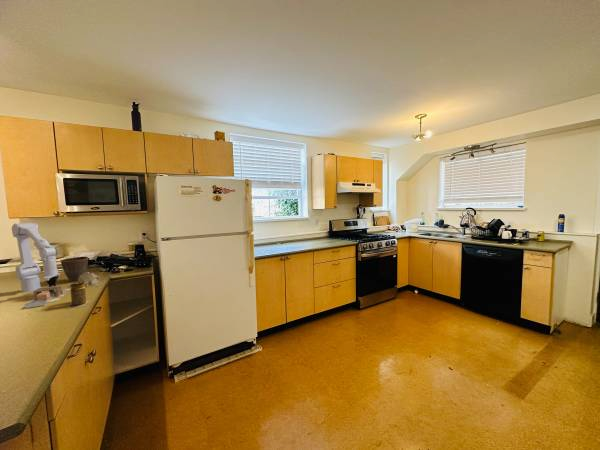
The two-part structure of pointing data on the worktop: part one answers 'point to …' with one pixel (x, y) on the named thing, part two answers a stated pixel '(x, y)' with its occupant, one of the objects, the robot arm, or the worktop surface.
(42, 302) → the slider frame
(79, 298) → the condiment
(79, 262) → the plant pot
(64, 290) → the tunnel deck
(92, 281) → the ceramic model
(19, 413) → the worktop surface
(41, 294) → the block
